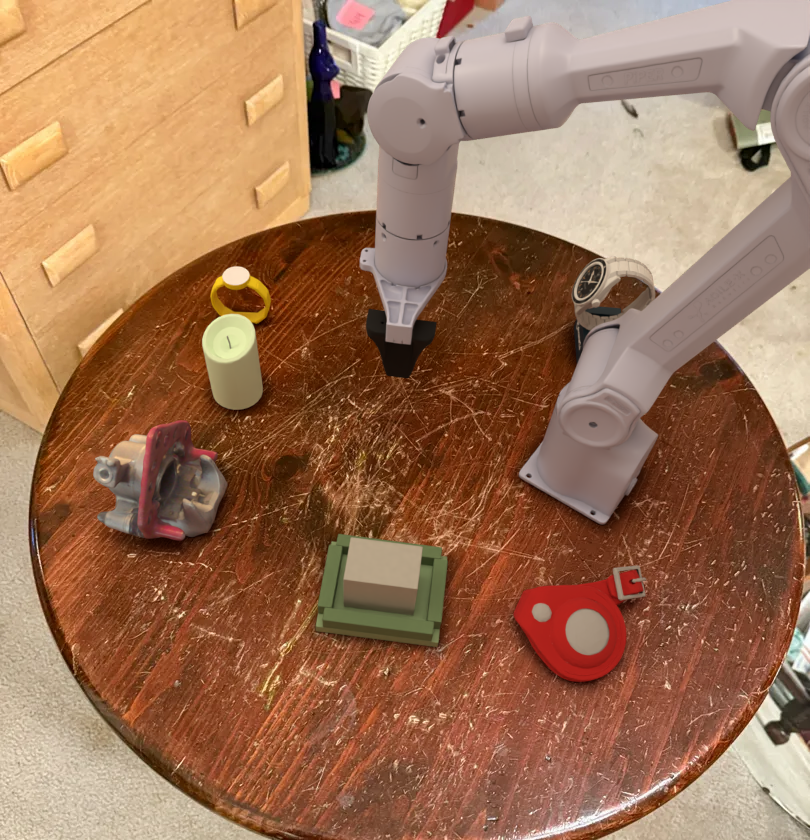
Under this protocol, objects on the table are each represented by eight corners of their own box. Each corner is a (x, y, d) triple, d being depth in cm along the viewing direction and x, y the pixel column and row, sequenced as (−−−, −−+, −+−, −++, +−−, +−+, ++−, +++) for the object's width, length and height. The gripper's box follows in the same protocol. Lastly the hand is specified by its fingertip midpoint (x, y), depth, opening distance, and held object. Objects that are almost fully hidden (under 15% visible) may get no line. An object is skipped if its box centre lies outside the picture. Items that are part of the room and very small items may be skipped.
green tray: (446, 561, 73) (449, 547, 71) (437, 647, 69) (440, 635, 67) (331, 546, 73) (331, 532, 71) (315, 631, 69) (314, 618, 67)
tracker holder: (616, 700, 66) (509, 646, 66) (594, 701, 71) (492, 650, 70) (665, 569, 70) (563, 516, 69) (641, 578, 74) (545, 528, 73)
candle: (242, 418, 80) (232, 360, 73) (202, 396, 81) (188, 336, 74) (273, 386, 82) (266, 327, 75) (233, 365, 84) (222, 304, 77)
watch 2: (274, 312, 88) (269, 268, 83) (270, 331, 86) (265, 287, 81) (218, 307, 88) (210, 262, 82) (213, 325, 86) (205, 282, 81)
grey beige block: (418, 574, 71) (422, 546, 67) (413, 615, 69) (417, 589, 65) (350, 565, 71) (350, 536, 67) (343, 606, 69) (343, 579, 65)
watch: (556, 324, 89) (580, 242, 80) (628, 330, 90) (661, 249, 80) (558, 363, 87) (584, 282, 77) (633, 369, 87) (668, 289, 77)
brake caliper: (224, 560, 69) (114, 479, 61) (142, 576, 75) (33, 504, 68) (263, 456, 75) (167, 369, 67) (184, 478, 81) (88, 401, 73)
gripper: (374, 150, 66) (369, 281, 78) (347, 273, 59) (347, 397, 70) (460, 161, 66) (443, 291, 78) (444, 286, 58) (428, 408, 70)
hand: (402, 342), depth 74 cm, fingers open, 7 cm apart
